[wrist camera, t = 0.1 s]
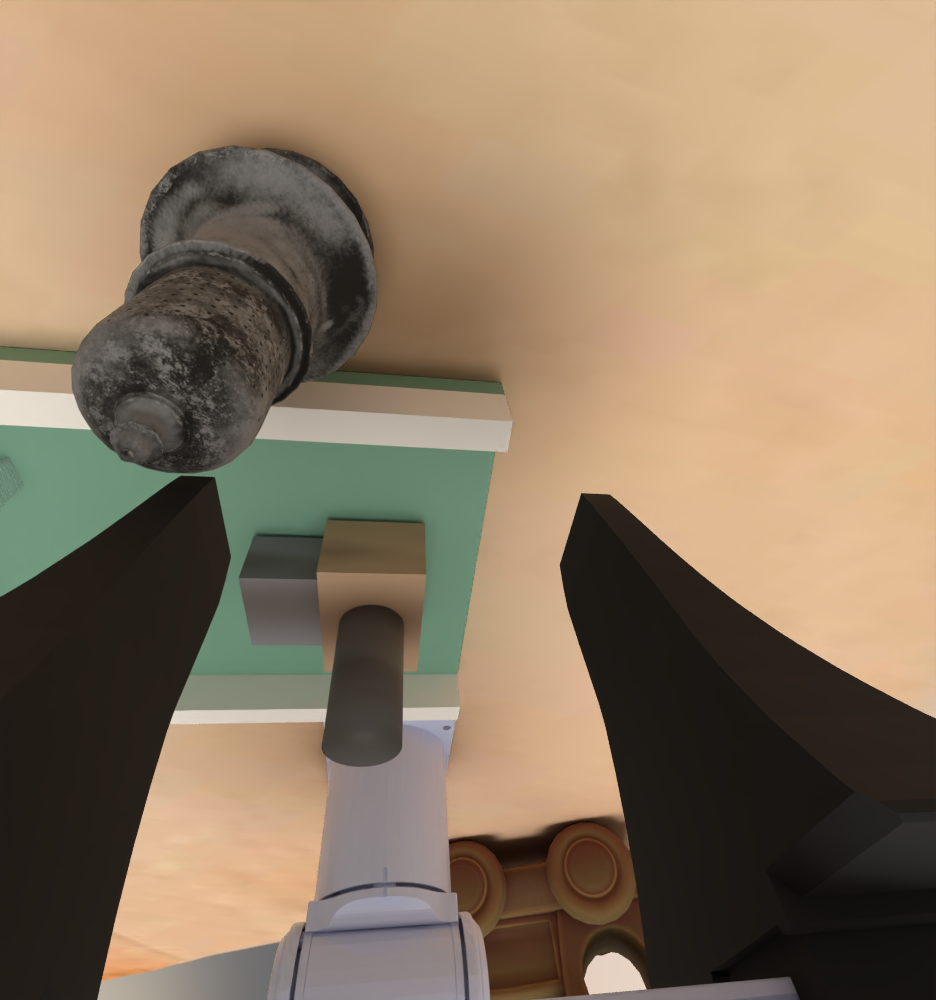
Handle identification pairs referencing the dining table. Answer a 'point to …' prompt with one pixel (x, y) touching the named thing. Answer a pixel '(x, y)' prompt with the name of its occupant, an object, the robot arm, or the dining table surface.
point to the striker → (346, 622)
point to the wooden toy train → (551, 912)
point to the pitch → (274, 513)
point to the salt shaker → (227, 307)
